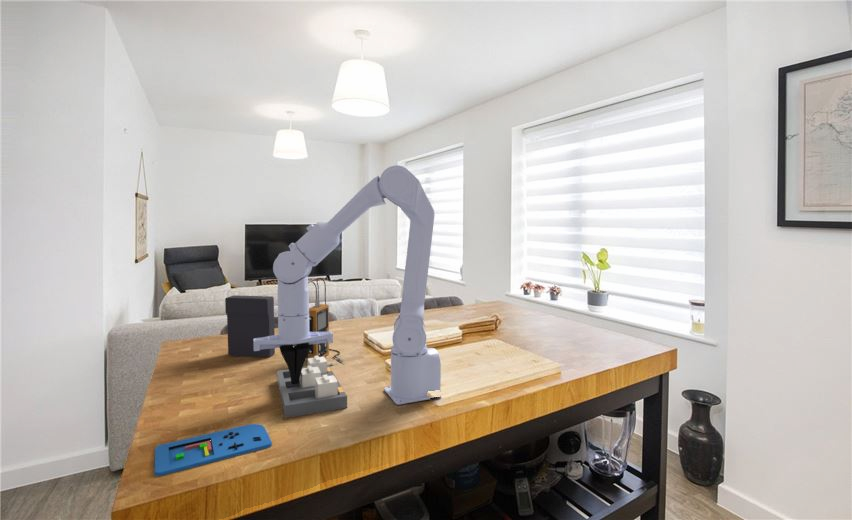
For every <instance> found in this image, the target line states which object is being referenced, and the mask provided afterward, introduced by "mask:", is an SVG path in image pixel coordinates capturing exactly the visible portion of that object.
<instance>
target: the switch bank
mask: <svg viewBox="0 0 852 520" xmlns="http://www.w3.org/2000/svg"><path fill="white" fill-rule="evenodd" d="M303 368H307V367H302V369H303ZM326 374H327V376H332V375H334V377H335V378H336V380H337V382H338V395H336V396H329V397H323V398H316V397H315V386H311V387H304V388H301V386H300V379H299V384H292V383H291V377H290V372H289V369H284V370H283V369H282V370H277V371H276V381H278V382H277V385H278V386H279V387H278V391H279V390H280V391H279V396H280V395H281V396H280V400H281V399H282V401H281V405H282V404H283V405H282V409H284V410H283V415H284V414H285V415H284V418H285V419H288V418H293V417H292V416H294V417H299V415H300V416H306V415H311V414H316V413H323V412H330V411H335V410H336V411H337V410H341V409H346V408H347V409H348V395H347V394H346V392H345V390H344V389H343V387H342V385H341V383H340V382H339V380H338V378H337V377H336V375H335V374H334V372H333V370H332V368H331V366H329V365H327V373H325V374H321V377H323V375H326Z"/></svg>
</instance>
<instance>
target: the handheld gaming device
mask: <svg viewBox="0 0 852 520" xmlns="http://www.w3.org/2000/svg"><path fill="white" fill-rule="evenodd" d="M210 440H211V441H210ZM272 446H273V441H272V440H271V437H270V435H269V433H268V432H267V429H266V427H265V426H264V425H262V424H260V423H258V424H257V423H249V424H244V425H240V426H237V427H236V426H235V427H232V428H228V429H222V430H219V431H215V432H210V433H206V434H205V433H204V434H203V435H197V436H192V437H189V438H184V439H179V440H175V441H170V442H167V443H162V444H159V445H157V446H156V447H155V448H154V449H155V450H154V476H155V477H162V476H165V475H170V474H173V473H176V472H181V471H185V470H189V469H192V468H196V467H200V466H204V465H208V464H211V463H215V462H219V461H223V460H226V459H230V458H233V457H238V456H241V455H246V454H249V453H253V452H256V451H257V452H258V451H261V450H263V449H264V450H265V449H268V448H271V447H272Z"/></svg>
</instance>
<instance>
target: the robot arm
mask: <svg viewBox="0 0 852 520" xmlns="http://www.w3.org/2000/svg"><path fill="white" fill-rule="evenodd" d="M385 199H387V201H389V202H391V203H393V204H394V205H396V206H397V207H399V208H400V210H401V211H402V212H403V213H404V215H405V216H406V217H407V218H408V219H409V222H410V223H409V232H408V237H407V238H408V240H407V247H406V249H407V250H406V259H405V266H404V277H403V285H402V292H401V293H402V295H401V303H400V311H399V314H398V316H397V318H396V319H395V321H394V323H393V334H392V344H393V345H392V346H391V347H390V385H389V386H385V387H384V388H383V390H384V391H385V393H386V394H387V395H388V397H389V398H390V399H391V400H392V401H393V403H394V404H396V405H406V404H411V403H416V402H421V401H427V400H431V399H430V397H429V396H427V392H428V391H435V390H440V391H441V385H442V384H441V377H442V373H441V370H442V369H441V368H442V364H441V358H440V354H439V351H437V349H436V348H435V347H428V346H427V345H426V343H427V333H426V330H425V322H424V321H425V320H424V317H425V301H426V295H427V294H426V293H427V282H428V276H429V266H430V259H431V251H432V250H431V249H432V239H433V232H434V223H435V217H436V215H435V209H434V208H433V205H432V203H431V201H430V200H429V198H428V196H427V194H426V192H425V191H424V187H423V186H422V183H421V182H420V179H419V178H418V177H416V175H415V174H414V173H412V172H411V170H409V169H408V168H407V167H405V166H402V165H397V164H396V165H390V166H388V167H387V168H386V169H385V170H383V172H382V173H381V174H380V175H377V176H376V177H374V178H372V179H371V180H370V181H369V182H367V184H365V185H364V186H363V187H362V188H361V189H360V190H359V191H358V192H357V193H356V194H355V195H354V196H353V197H352V198H351V199H350V200H349V201H348V202H347V203H346V204H345V205H344V206H342V208H341V209H340V210H339V211H337V213H336V214H335V215H334V216H333V217H331V219H330V220H329V221H327V222H323V221H319V222H317V223H313V224H312V223H310V224H309V225H308V226H307V227H306V230H307V232H305V234H303V236H301V237H300V238H299V239H298V240H297V241H296V242H291V243H290V244H289V245H288V248H289V250H287V251H283V252H279V254H278V256H277V257H276V258H275V259H274V262H273V265H272V270H273V271H272V272H273V274H274V276H275V278H276V279H277V290H276V291H277V292H276V293H277V323H278V324H277V329H278V331H277V332H278V334H274V335H273V336H268V337H262V338H254V339H253V342H254V351H260V350H261V349H270V348H275V349H277V348H278V349H279V350H280V354H281V355H282V358H283V359H284V361H285V364H286V366H287V370H289V372H290V377H291V383H292V384H299V379H300V374H301V371H302V368H304V365H305V362H306V358H307V356H308V354H309V351H310V348H309V344H318V343H329V344H333V343H334V339H333V338H334V333H333V332H332V331H330V330H329V331H328V332H309V308H310V290H309V283H308V282H309V275H310V274H311V273H312V269H313V267H316V266H318V265H319V263H321V262H323V260H324V259H326V257H327V256H328V255H329V254H330V253H332V252H333V250H335V249H336V248H337V247H338V246H339V245H340V238H341V237H340V236H341V234H342V233H343V232H344V231H346V230H347V229H348V228H349V227H350V226H351V225H352V224H353V223H354V222H356V220H358V219H359V218H360V217H362V215H364V214H365V213H367V211H368V210H370V209H371V208H374V207H378V206H383V205H386V204H387V203H386V201H385Z"/></svg>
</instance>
